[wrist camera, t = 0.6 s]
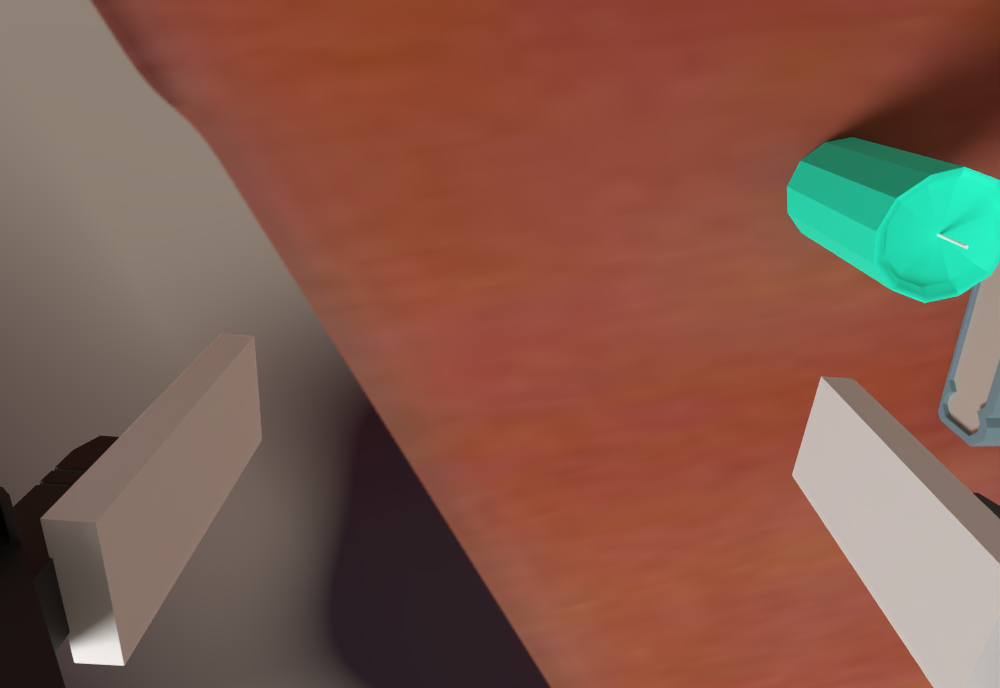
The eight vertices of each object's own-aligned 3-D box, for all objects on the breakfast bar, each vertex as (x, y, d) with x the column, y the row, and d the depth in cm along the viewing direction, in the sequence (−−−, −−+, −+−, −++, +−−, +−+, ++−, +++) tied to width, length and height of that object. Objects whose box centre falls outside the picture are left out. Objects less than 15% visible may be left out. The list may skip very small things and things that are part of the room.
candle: (874, 244, 41) (1009, 319, 30) (774, 237, 41) (874, 308, 30) (905, 141, 39) (1065, 180, 28) (800, 132, 38) (919, 168, 27)
